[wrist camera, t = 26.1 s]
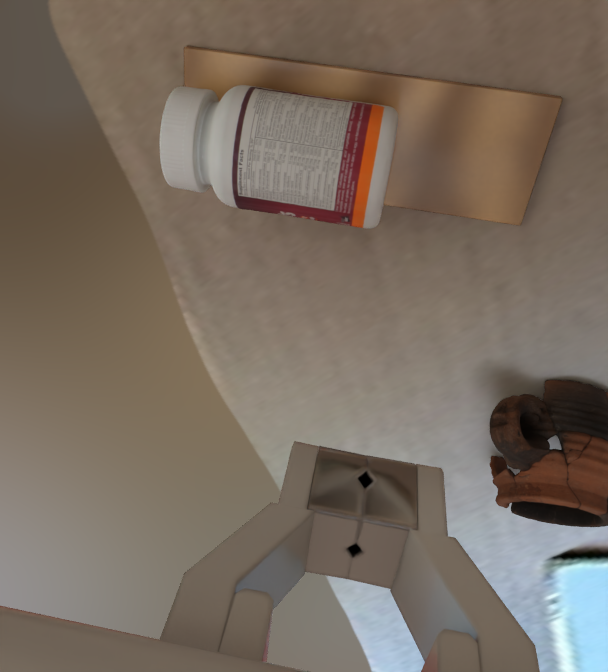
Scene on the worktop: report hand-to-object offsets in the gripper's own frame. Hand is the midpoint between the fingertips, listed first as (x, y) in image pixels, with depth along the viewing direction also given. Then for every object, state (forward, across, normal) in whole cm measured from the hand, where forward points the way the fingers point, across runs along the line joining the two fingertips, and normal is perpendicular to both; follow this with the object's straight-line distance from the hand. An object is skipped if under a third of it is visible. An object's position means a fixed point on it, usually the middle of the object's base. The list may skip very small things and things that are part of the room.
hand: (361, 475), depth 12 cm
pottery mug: (+25, -14, +18) cm, 34 cm away
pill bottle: (+21, 0, 0) cm, 21 cm away
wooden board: (+25, +2, 0) cm, 25 cm away
